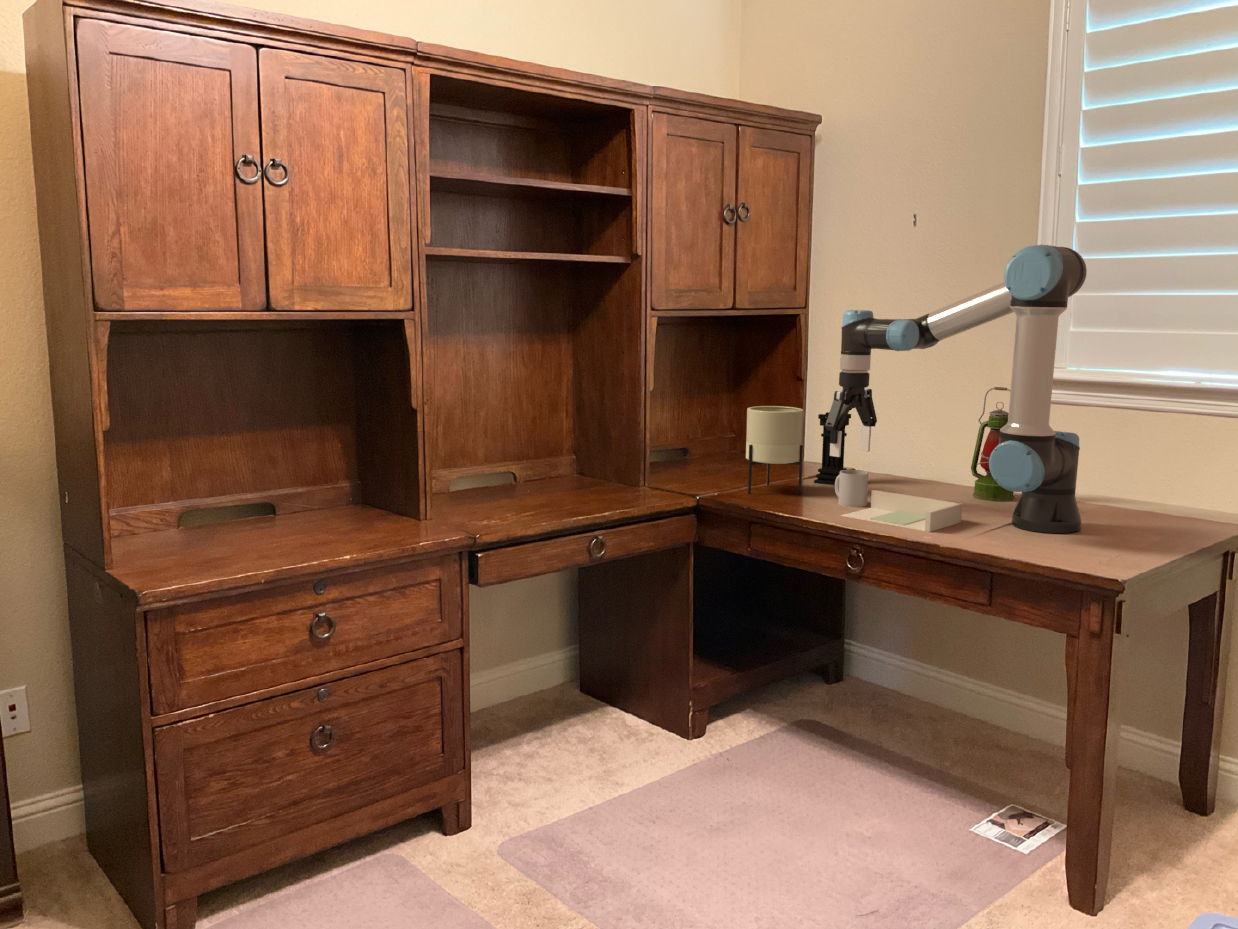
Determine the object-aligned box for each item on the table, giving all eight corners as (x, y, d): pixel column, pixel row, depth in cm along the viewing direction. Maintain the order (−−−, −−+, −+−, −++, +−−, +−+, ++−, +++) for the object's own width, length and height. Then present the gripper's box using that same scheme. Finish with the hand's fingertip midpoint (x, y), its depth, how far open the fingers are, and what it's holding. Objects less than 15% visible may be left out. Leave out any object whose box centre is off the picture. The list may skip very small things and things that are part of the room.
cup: (852, 510, 259) (854, 475, 258) (824, 503, 268) (826, 469, 266) (872, 507, 263) (874, 473, 262) (845, 500, 272) (846, 467, 270)
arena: (961, 524, 244) (962, 503, 243) (929, 533, 234) (930, 512, 233) (873, 508, 261) (874, 489, 260) (840, 517, 251) (840, 497, 250)
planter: (791, 498, 273) (794, 413, 270) (736, 492, 281) (738, 409, 277) (810, 489, 286) (813, 408, 283) (757, 484, 294) (759, 404, 291)
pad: (929, 518, 248) (929, 516, 248) (903, 525, 240) (903, 524, 240) (896, 512, 255) (896, 511, 254) (870, 519, 246) (870, 518, 246)
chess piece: (849, 481, 300) (853, 413, 296) (840, 485, 293) (843, 416, 290) (824, 478, 304) (826, 412, 301) (813, 482, 297) (816, 414, 294)
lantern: (1027, 498, 276) (1035, 387, 271) (1010, 504, 268) (1018, 390, 264) (977, 491, 286) (984, 384, 281) (960, 496, 278) (967, 386, 273)
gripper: (868, 368, 271) (863, 447, 275) (813, 372, 254) (809, 456, 258) (893, 370, 266) (888, 450, 270) (839, 374, 249) (834, 460, 252)
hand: (849, 453), depth 264 cm, fingers open, 13 cm apart
